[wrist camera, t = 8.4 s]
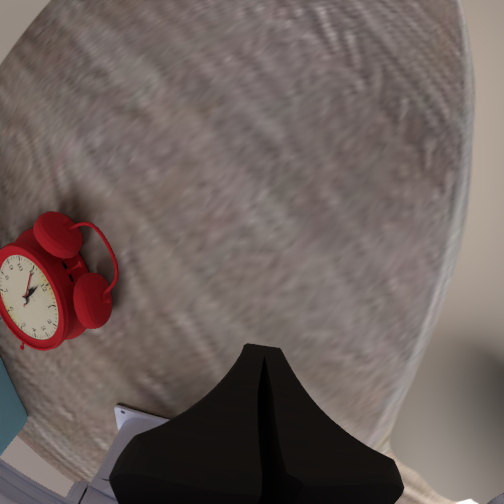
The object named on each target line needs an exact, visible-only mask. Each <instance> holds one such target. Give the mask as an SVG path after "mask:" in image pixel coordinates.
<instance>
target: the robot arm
mask: <svg viewBox="0 0 504 504" xmlns="http://www.w3.org/2000/svg"><path fill="white" fill-rule="evenodd" d="M114 410H115V416H116V421H117V426H118V431H119V432H118V434H117V435H116V437H115V439H114V441H113V443H112V445H111V447H110V449H109V451H108V453H107V455H106V457H105V458H104V460H103V462H102V464H101V466H100V468H99V470H98V472H97V474H96V476H94V478H93V480H92V481H91V483H90V485H89V486H88V483H89V482H87V481H85V480H82V481H76V482H75V483H74V484H73V486H72V487H71V489H70V491H69V492H68V494H67V496H66V498H65V497H63V496H61V495H59V494H57V493H55V492H53V491H52V490H50V489H48V488H46V487H44V486H43V485H41V484H39V483H37V482H36V481H34V480H32V479H31V478H29V477H27V476H26V475H24V474H23V473H21V472H20V471H18V470H16V469H15V468H13V467H12V466H10V465H9V464H8V463H6V462H5V461H3V460H2V459H0V504H394V503H395V502H396V501H397V500H398V499H399V497H400V496H401V495H402V493H403V490H404V485H403V482H402V479H401V476H400V473H399V470H398V468H397V466H396V464H395V461H394V460H393V459H391V458H389V457H387V456H385V455H383V454H381V453H379V452H377V451H375V450H373V449H371V448H370V447H368V446H366V445H365V444H363V443H362V442H360V441H359V440H357V439H356V438H354V437H353V436H351V435H350V434H349V433H347V432H346V431H345V430H343V429H342V428H341V427H340V426H339V425H337V424H336V423H335V422H334V421H333V420H332V419H330V418H329V417H328V416H327V415H326V414H325V413H324V412H323V411H322V410H321V409H320V407H319V406H318V405H317V404H316V403H315V402H314V401H313V400H312V398H311V397H310V396H309V394H308V393H307V392H306V390H305V389H304V388H303V386H302V385H301V383H300V382H299V380H298V379H297V377H296V375H295V374H294V372H293V371H292V369H291V367H290V365H289V364H288V362H287V360H286V358H285V356H284V354H283V352H282V350H281V349H280V348H276V347H269V346H262V345H255V344H249V343H247V344H245V345H244V347H243V350H242V352H241V354H240V356H239V358H238V359H237V361H236V362H235V364H234V365H233V366H232V368H231V369H230V371H229V372H228V373H227V374H226V376H225V377H224V378H223V379H222V380H221V381H220V382H219V383H218V385H217V386H216V387H215V388H214V389H213V390H211V391H210V392H209V393H208V394H207V395H206V396H205V397H204V398H202V399H201V400H200V401H199V402H197V403H196V404H195V405H193V406H192V407H191V408H189V409H188V410H186V411H185V412H183V413H181V414H180V415H178V416H176V417H174V418H173V419H171V420H169V419H165V418H161V417H157V416H154V415H150V414H146V413H143V412H140V411H136V410H133V409H130V408H126V407H123V406H120V405H116V406H115V408H114ZM487 504H504V493H502V494H500V495H499V496H497V497H495V498H494V499H492V500H491V501H490V502H488V503H487Z"/></svg>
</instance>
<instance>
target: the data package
mask: <svg viewBox="0 0 504 504" xmlns="http://www.w3.org/2000/svg"><path fill="white" fill-rule="evenodd" d="M26 421H27V413H26V410H25V408H24V406H23V405H22V403H21V401H20V399H19V397H18V395H17V392H16V390H15V388H14V386H13V384H12V382H11V380H10V377H9V375H8V373H7V370H6V368H5V366H4V363H3V361H2V358H1V357H0V456H1V454H2V453H3V452H4V450H5V449H6V448H7V446H8V445H9V444H10V443H11V441H12V440H13V439H14V438H15V436H16V435H17V434H18V433H19V431H20V430H21V429H22V428H23V426H24V425H25V424H26Z"/></svg>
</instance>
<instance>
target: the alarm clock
mask: <svg viewBox="0 0 504 504" xmlns="http://www.w3.org/2000/svg"><path fill="white" fill-rule="evenodd" d="M83 225H87V226H90V227H92V228H93V229H94V230H95V231H96V232H97V233H98V234H99V235H100V236H101V238H102V239H103V241H104V243H105V244H106V246H107V248H108V250H109V252H110V255H111V257H112V260H113V263H114V267H115V276H114V280H113V282H112V284H111V285H110V286H109V285H108V283H107V281H106V280H105V279H104V277H103V276H101V275H100V274H98V273H89V272H88V269H87V267H86V265H85V263H84V261H83V259H82V257H81V256H80V254H79V253H78V252H79V251H80V249H81V246H82V244H83V238H82V234H81V231H80V230H79V228H78V227H79V226H83ZM117 279H118V264H117V261H116V258H115V255H114V253H113V250H112V248H111V246H110V244H109V242H108V241H107V239H106V238H105V236H104V234H103V233H102V232H101V231H100V229H99V228H98V227H96V226H95V225H94V224H92V223H90V222H80V223H77V224H75V223H74V222H73V221H72V220H71V219H70V218H69V217H67V216H66V215H64V214H62V213H59V212H52V211H50V212H46V213H44V214H42V215H41V216H39V218H38V219H37V220H36V222H35V224H34V226H33V228H32V229H29V230H27V231H25V232H23V233H22V234H21V235H20V236H19V237H18V238H17V240H16V241H15V242H13V243H10V244H7V245H6V246H4V247H3V248H2V249H1V250H0V315H1V317H2V319H3V320H4V322H5V324H6V325H7V327H8V328H9V329H10V330H11V332H12V333H13V334H14V335H15V336H16V337H17V338H18V339H19V340H20V341H22V345H21V346H20V348H21V350H23V349H24V344H26V345H28V346H29V347H31V348H34V349H37V350H43V351H46V350H50V349H54V348H56V347H58V346H59V345H60V344H61V343H62V342H63V341H64V340H68V339H73V338H76V337H78V336H79V335H81V334H82V333H83V332H84V331H85V330H86V329H87V328H89V329H96V328H99V327H101V326H103V325H104V324H105V323H106V322H107V321H108V319H109V317H110V315H111V311H112V296H111V291H110V290H111V289H112V288H113V287H114V285H115V284H116V282H117Z"/></svg>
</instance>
